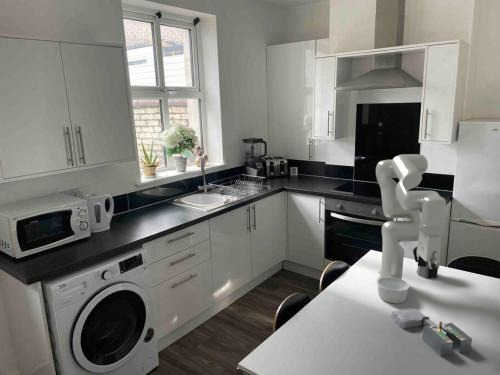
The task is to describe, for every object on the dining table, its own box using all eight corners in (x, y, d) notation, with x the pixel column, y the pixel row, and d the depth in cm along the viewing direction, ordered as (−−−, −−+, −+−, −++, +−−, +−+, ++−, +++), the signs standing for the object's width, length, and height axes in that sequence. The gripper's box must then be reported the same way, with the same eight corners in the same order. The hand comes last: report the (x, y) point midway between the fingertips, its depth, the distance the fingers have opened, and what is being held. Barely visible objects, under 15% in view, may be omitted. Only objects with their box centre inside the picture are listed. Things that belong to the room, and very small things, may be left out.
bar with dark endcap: (421, 324, 150) (423, 309, 148) (427, 323, 150) (428, 309, 149) (440, 340, 139) (442, 325, 138) (446, 339, 140) (448, 324, 138)
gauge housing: (422, 338, 142) (423, 326, 141) (450, 334, 145) (451, 321, 143) (440, 356, 133) (442, 342, 131) (470, 351, 135) (472, 337, 134)
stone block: (387, 321, 157) (403, 330, 147) (387, 309, 157) (403, 318, 147) (412, 317, 160) (429, 326, 150) (412, 306, 160) (429, 314, 150)
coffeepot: (431, 269, 198) (435, 236, 194) (444, 277, 189) (448, 243, 185) (405, 272, 195) (408, 239, 191) (416, 280, 186) (420, 246, 182)
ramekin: (403, 290, 177) (404, 277, 176) (411, 306, 164) (413, 291, 163) (373, 289, 179) (374, 276, 177) (380, 304, 166) (381, 290, 164)
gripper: (412, 221, 149) (408, 262, 153) (430, 238, 133) (425, 282, 137) (432, 221, 149) (427, 262, 153) (452, 238, 132) (447, 283, 136)
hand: (426, 271), depth 145 cm, fingers open, 9 cm apart
